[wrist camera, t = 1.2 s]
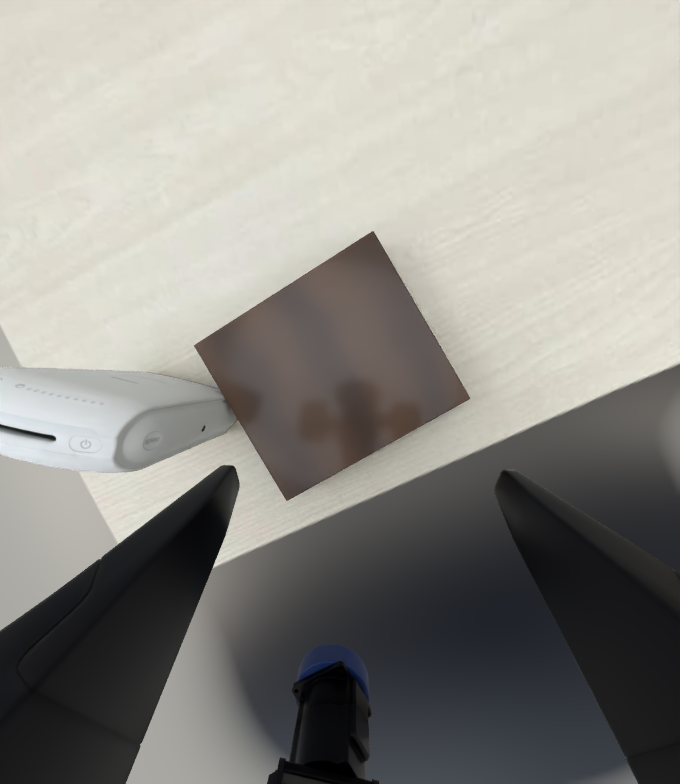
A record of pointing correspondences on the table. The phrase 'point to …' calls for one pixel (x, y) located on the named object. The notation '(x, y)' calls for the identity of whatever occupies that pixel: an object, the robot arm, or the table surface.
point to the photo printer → (104, 417)
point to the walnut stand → (332, 368)
